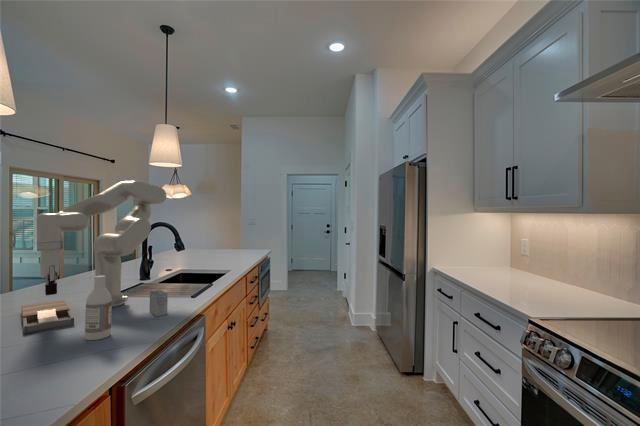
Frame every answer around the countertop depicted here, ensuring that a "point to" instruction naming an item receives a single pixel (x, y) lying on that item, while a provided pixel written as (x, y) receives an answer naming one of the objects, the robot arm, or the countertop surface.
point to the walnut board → (31, 310)
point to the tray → (48, 324)
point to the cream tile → (47, 319)
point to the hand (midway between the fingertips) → (51, 294)
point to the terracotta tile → (46, 314)
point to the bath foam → (98, 311)
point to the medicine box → (158, 302)
